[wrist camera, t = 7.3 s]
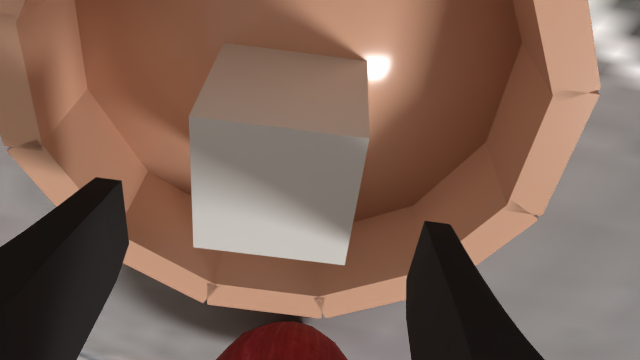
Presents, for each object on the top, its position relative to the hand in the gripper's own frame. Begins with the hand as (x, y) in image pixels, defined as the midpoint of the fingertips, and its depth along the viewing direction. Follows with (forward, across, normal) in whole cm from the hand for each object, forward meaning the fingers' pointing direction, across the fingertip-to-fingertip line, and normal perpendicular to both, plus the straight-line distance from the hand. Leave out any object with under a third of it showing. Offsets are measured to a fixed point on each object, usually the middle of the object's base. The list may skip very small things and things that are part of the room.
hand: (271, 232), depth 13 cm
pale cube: (+4, 0, -1) cm, 5 cm away
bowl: (+5, 0, -2) cm, 5 cm away
